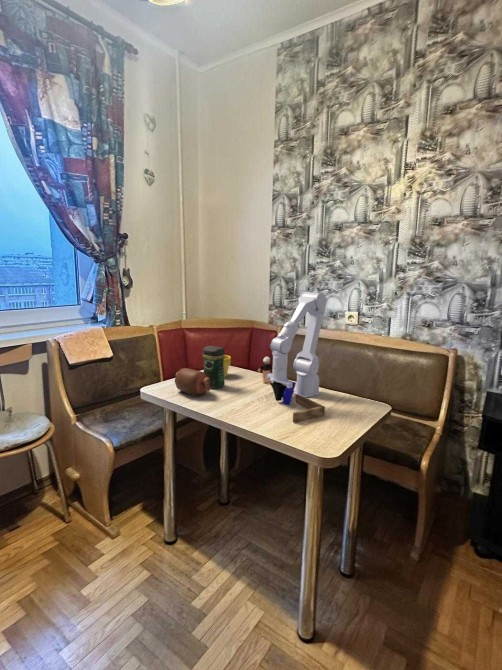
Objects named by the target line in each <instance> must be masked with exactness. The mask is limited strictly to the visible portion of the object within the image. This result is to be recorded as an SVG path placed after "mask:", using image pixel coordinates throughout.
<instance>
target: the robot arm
mask: <svg viewBox="0 0 502 670" xmlns="http://www.w3.org/2000/svg"><path fill="white" fill-rule="evenodd" d="M327 301H328V299H327V297H326V295H325V294H324V293H323V292H313V291H302V292H301V294H300V296H299V298H298V305H297V307H296V309H295V311H294V313H293V314H292V316H291V319H290V321H287V322H285V323H284V325H283V327H282V329H281V330H280V332H279V334H278V335H277V336H276V337H274V338H273V339H272V340H271V343H270V344H269V348H270V349H271V355H272V367H273V372H271V373H270V374H267V379H270V381H271V382H272V383H271V384H270V386H271V387H272V390H273V394H274V399H275V401H277V402H279V401H283V394H284V391H285V389H286V388H292V385H293V383H292V382H293V381H292V382H290V381H291V380H289V379H288V378H287V377H288V376H287V375H288V355H289V352H290V351H291V349H292V344H293V340H294V338H295V336H296V334H297V332H298V331H299V327H298V326H299V324H300V323H301V321H302V320H303V319H304V318H305V316H306V314H307V312H308V313H309V319H308V324H307V328H306V332H305V338H304V342H303V346H302V350H301V351H299V352H298V353H297V354H296V357H295V359H294V361H293V364H292V365H293V366H292V367H293V370H294V371H295V374H296V386H295V387H296V388H295V389H296V390H294V393H293V395H294V394H299V395H301V396H303V397H305V398H309V397H314V396H319V395H321V392H319V390H320V377H319V375H318V371H319V367H320V365H319V364H320V363H319V362H320V358H319V357H318V356H317V354H316V348H317V346H318V341H319V336H320V331H321V327H322V323H323V319H324V314H325V311H326V310H325V309H326V306H327Z"/></svg>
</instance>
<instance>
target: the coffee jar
mask: <svg viewBox="0 0 502 670" xmlns="http://www.w3.org/2000/svg"><path fill="white" fill-rule="evenodd" d="M225 355H226V353H225V348H224V347H221V346H215V345H207V346H203V349H202V358H203V372H204V373H206V374H207V375H209V378H210V381H211V384H210V388H211V389H214V390H216V389H222V388H223V387H224V386H225V383H226V382H225V377H224V368H223V360H224V357H225Z"/></svg>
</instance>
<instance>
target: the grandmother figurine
mask: <svg viewBox="0 0 502 670" xmlns="http://www.w3.org/2000/svg"><path fill="white" fill-rule="evenodd" d="M270 361H271V357H269V356H265V357H264V358H263V360H262V362H263V363H264V364H261V365H259V367H258V369H257V371H258V372H259V373H260V372H261V371H262V382H261V383H262V384H265V385H266V384H268V385H271V383H273V382H272V381H270V379H267V374H270V373H271V374H272V373H273V365H271V364H270ZM271 371H272V372H271Z"/></svg>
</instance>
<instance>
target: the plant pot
mask: <svg viewBox="0 0 502 670" xmlns="http://www.w3.org/2000/svg"><path fill="white" fill-rule="evenodd" d="M231 360H232V357H231V356H230V355H226V354H225V357H224V360H223V368H224V378H226V377H227V375H228V371H229V367H230V365H231V364H232V363H231V362H232V361H231Z"/></svg>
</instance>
